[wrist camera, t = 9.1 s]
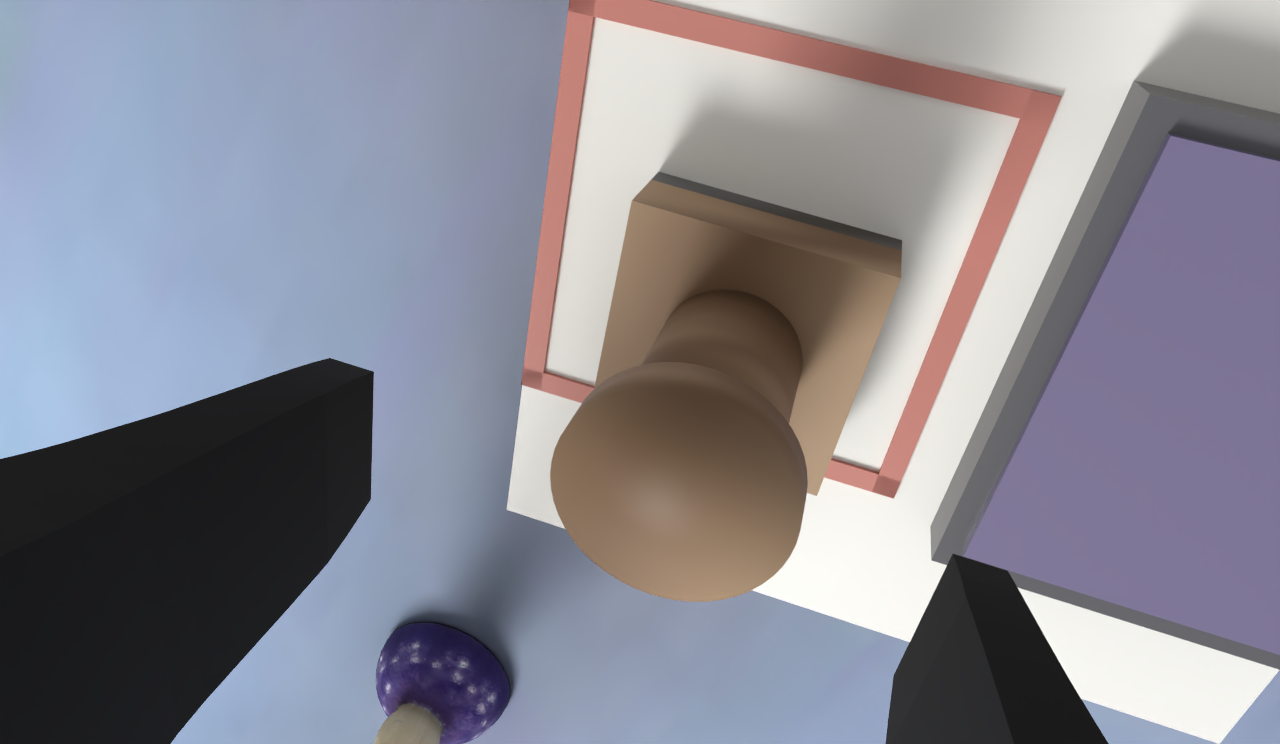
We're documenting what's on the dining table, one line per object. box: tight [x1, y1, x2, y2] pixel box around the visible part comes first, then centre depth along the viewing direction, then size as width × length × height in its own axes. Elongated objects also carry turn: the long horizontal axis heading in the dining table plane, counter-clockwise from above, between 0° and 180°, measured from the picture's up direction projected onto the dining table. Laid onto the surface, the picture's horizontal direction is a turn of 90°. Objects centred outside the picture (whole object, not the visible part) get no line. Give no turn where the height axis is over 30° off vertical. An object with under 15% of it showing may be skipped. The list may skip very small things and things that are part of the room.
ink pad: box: [930, 81, 1280, 670], centre depth 16 cm, size 8×10×1 cm
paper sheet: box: [507, 0, 1280, 744], centre depth 18 cm, size 18×17×1 cm
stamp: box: [550, 172, 902, 602], centre depth 16 cm, size 5×5×7 cm
